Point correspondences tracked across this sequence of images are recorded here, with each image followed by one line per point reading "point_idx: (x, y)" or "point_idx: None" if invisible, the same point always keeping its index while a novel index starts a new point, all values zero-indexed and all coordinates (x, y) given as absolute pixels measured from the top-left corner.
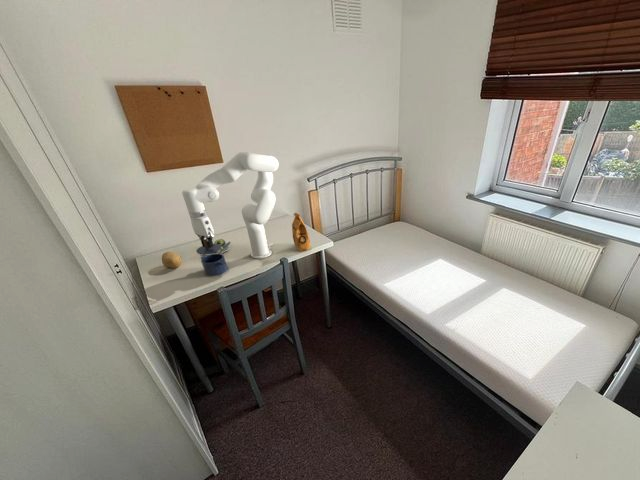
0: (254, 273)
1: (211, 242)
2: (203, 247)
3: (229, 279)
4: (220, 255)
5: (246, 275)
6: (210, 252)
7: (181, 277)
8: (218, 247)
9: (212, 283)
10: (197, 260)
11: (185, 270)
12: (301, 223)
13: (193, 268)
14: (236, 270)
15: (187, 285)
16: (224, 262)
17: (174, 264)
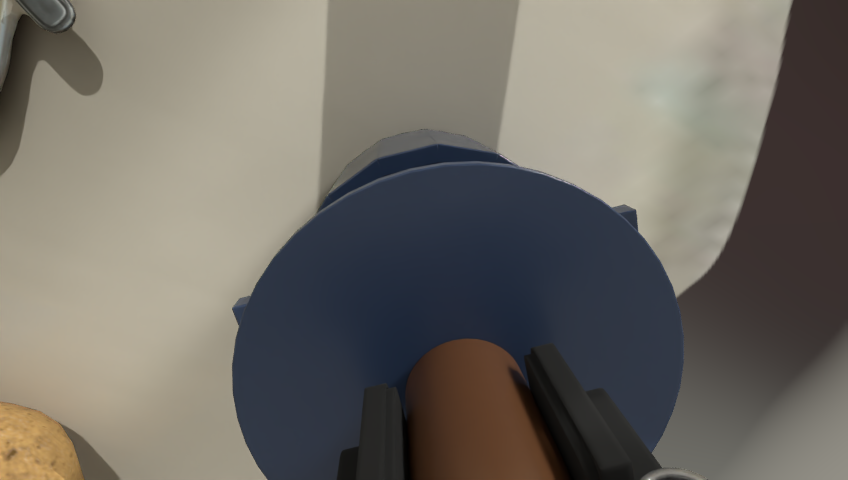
0: (786, 6)
1: (644, 458)
2: (329, 434)
3: (654, 228)
4: (415, 166)
5: (740, 86)
6: (647, 438)
7: None
8: (584, 254)
9: None
10: (9, 246)
11: (168, 397)
12: None
13: (180, 340)
14: (568, 94)
15: None
16: (637, 228)
17: None
